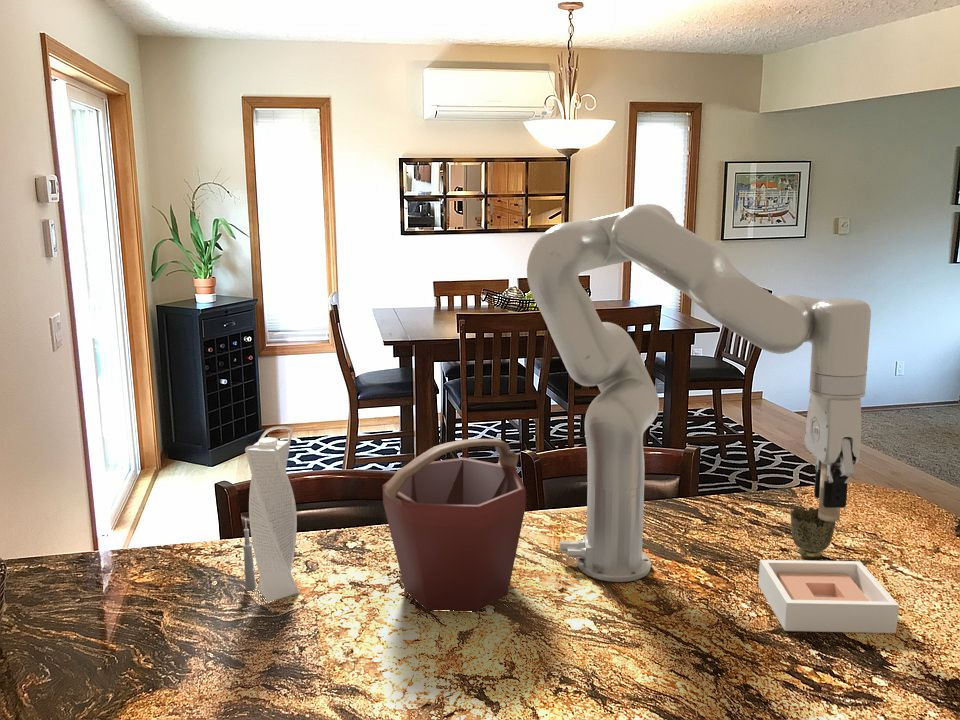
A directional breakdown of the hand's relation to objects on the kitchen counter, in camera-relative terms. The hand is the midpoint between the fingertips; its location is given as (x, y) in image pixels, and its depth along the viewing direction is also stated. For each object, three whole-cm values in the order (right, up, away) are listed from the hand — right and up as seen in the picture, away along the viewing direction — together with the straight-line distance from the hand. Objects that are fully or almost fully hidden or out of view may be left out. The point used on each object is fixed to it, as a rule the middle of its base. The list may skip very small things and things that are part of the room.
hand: (829, 501), depth 122 cm
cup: (+6, -14, +21) cm, 26 cm away
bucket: (-56, -17, +11) cm, 60 cm away
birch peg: (0, -3, +1) cm, 3 cm away
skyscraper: (-86, -17, +11) cm, 89 cm away
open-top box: (+1, -17, +4) cm, 18 cm away
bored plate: (+1, -17, +4) cm, 18 cm away
